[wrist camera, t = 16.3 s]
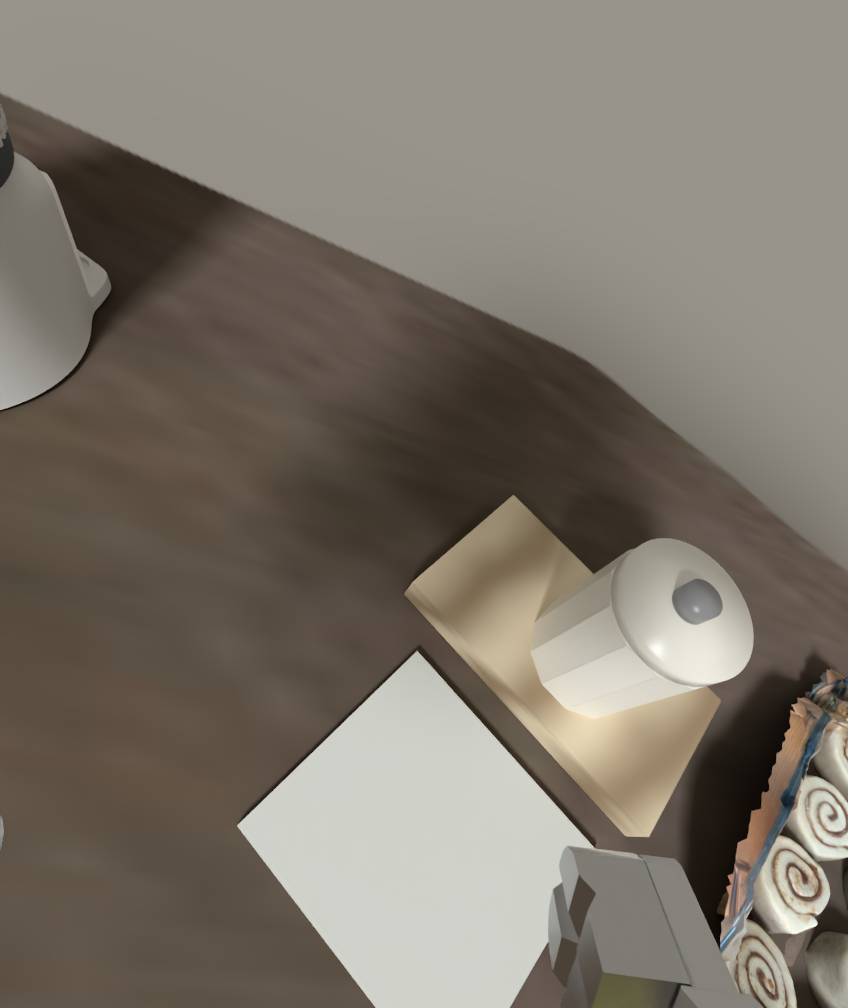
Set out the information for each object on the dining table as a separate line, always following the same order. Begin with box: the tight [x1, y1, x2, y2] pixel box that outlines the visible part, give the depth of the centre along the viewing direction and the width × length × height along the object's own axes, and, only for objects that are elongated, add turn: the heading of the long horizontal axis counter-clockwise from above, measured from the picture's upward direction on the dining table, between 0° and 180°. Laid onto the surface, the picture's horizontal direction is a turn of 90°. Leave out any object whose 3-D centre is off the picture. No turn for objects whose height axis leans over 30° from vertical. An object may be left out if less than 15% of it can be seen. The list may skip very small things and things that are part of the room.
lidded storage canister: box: [530, 538, 754, 719], centre depth 28 cm, size 7×7×10 cm
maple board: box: [404, 495, 721, 837], centre depth 33 cm, size 18×10×2 cm, turn 45°
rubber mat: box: [237, 651, 595, 1008], centre depth 27 cm, size 14×12×1 cm
